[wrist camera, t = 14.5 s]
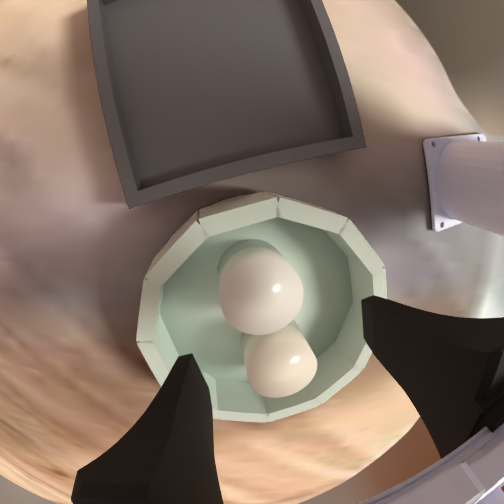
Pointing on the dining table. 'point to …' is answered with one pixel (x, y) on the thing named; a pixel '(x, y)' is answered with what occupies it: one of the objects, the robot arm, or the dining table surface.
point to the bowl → (228, 338)
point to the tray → (217, 89)
